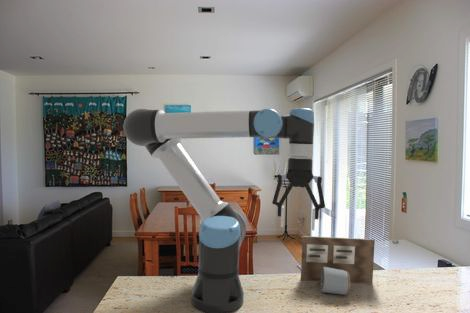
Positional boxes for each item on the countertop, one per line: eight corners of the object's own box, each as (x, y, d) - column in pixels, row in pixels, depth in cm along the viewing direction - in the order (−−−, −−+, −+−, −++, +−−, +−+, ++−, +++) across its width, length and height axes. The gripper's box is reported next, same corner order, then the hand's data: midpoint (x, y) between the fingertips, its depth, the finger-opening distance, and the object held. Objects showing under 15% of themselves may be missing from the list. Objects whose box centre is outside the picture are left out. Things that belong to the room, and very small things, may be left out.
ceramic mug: (350, 299, 95) (351, 274, 95) (322, 296, 97) (323, 271, 96) (344, 285, 106) (345, 262, 106) (319, 282, 107) (320, 259, 107)
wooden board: (301, 280, 108) (303, 236, 107) (300, 279, 109) (302, 236, 108) (372, 284, 107) (375, 240, 106) (371, 282, 108) (373, 239, 107)
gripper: (334, 158, 102) (331, 228, 103) (267, 156, 106) (264, 222, 107) (337, 159, 94) (333, 234, 95) (264, 156, 99) (262, 227, 100)
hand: (297, 227), depth 101 cm, fingers open, 9 cm apart
